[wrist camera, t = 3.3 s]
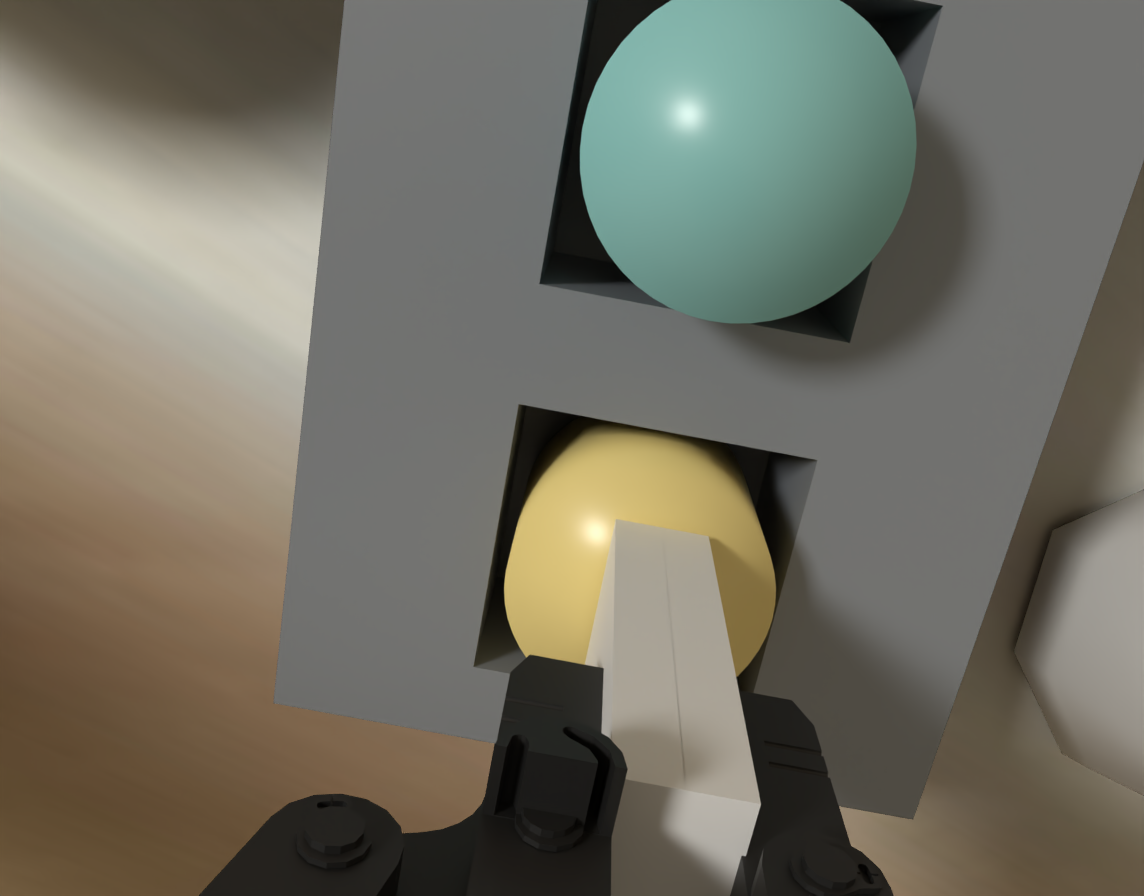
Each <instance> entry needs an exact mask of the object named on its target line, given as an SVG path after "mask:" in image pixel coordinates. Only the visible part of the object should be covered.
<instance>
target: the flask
mask: <svg viewBox="0 0 1144 896" xmlns="http://www.w3.org/2000/svg"><path fill="white" fill-rule="evenodd" d="M1014 653H1015V655H1016V657H1017V659H1018V661H1019V663H1020V666H1021V668H1022V670H1023V672H1024V674H1025V676H1026V678H1027V680H1028V683H1029V685H1030V687H1031V689H1032V691H1033V693H1034V695H1035V697H1036V700H1037V702H1038V704H1039V706H1040V708H1041V710H1042V712H1043V715H1044V717H1045V719H1046V721H1047V723H1048V725H1049V727H1050V729H1051V732H1052V734H1053V736H1054V738H1055V740H1056V742H1057V744H1058V746H1059V749H1060V751H1061V753H1062V754H1064V755H1066V756H1068V757H1069V758H1071V759H1073V760H1075V761H1077V762H1079V763H1080V764H1082V765H1084V766H1086V767H1088V768H1089V769H1091V770H1093V771H1095V772H1097V773H1099V774H1101V775H1103V776H1105V777H1107V778H1109V779H1111V780H1113V781H1115V782H1117V783H1119V784H1121V785H1123V786H1125V787H1127V788H1129V789H1131V790H1133V791H1135V792H1137V793H1139V794H1141V795H1143V796H1144V490H1142V491H1140V492H1137V493H1135V494H1133V495H1131V496H1128V497H1126V498H1124V499H1122V500H1119V501H1117V502H1115V503H1113V504H1110V505H1108V506H1106V507H1104V508H1101V509H1099V510H1097V511H1095V512H1093V513H1090V514H1088V515H1086V516H1084V517H1081V518H1079V519H1077V520H1075V521H1072V522H1070V523H1068V524H1066V525H1063V526H1061V527H1059V528H1057V529H1054V530H1053V531H1052V534H1051V537H1050V540H1049V544H1048V547H1047V550H1046V553H1045V556H1044V559H1043V562H1042V566H1041V569H1040V572H1039V575H1038V578H1037V581H1036V584H1035V587H1034V591H1033V594H1032V597H1031V600H1030V603H1029V606H1028V609H1027V613H1026V616H1025V619H1024V622H1023V625H1022V628H1021V631H1020V634H1019V638H1018V641H1017V644H1016V647H1015V650H1014Z"/></svg>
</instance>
